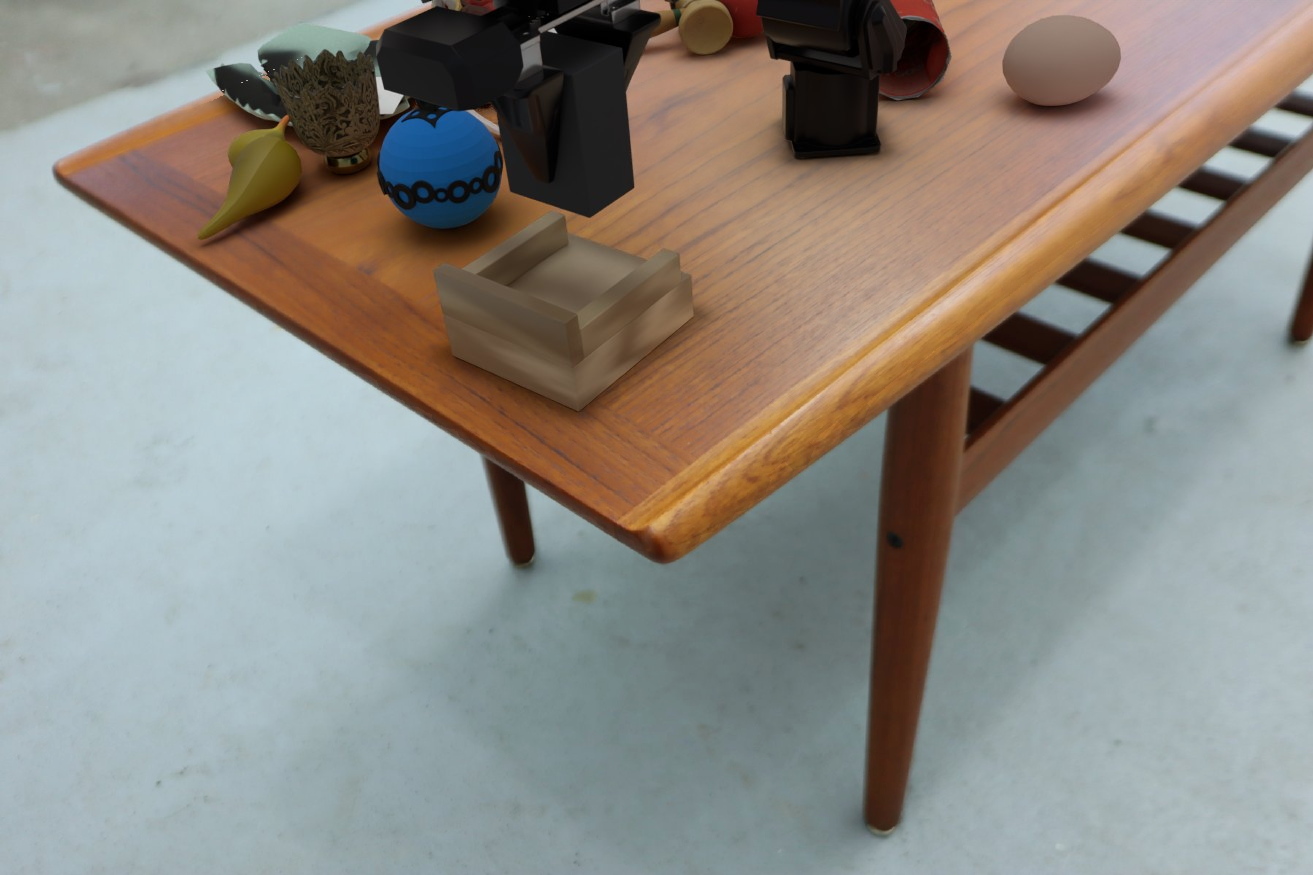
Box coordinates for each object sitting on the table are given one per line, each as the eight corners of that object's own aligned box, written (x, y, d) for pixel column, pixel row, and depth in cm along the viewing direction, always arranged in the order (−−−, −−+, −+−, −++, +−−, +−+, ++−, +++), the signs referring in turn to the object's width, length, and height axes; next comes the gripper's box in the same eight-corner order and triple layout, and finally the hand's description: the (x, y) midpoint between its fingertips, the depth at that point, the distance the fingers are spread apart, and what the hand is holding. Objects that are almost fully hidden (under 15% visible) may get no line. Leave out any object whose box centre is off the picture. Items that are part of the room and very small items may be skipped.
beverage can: (928, 43, 97) (936, -35, 93) (947, 99, 88) (956, 16, 84) (847, 46, 98) (850, -31, 93) (856, 103, 89) (861, 20, 84)
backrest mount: (570, 271, 72) (559, 188, 68) (694, 316, 67) (689, 230, 63) (452, 355, 66) (432, 270, 62) (578, 412, 61) (565, 322, 57)
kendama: (598, 91, 97) (792, 35, 97) (579, 18, 94) (780, -40, 94) (589, 74, 104) (771, 21, 104) (571, 5, 100) (758, -49, 101)
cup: (415, 152, 87) (393, 53, 82) (360, 195, 82) (332, 92, 77) (340, 140, 90) (314, 44, 85) (282, 180, 85) (251, 81, 80)
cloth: (422, 114, 88) (428, 141, 89) (440, 9, 104) (445, 34, 106) (168, 138, 88) (179, 165, 89) (226, 29, 104) (234, 53, 105)
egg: (1019, 116, 82) (1132, 109, 83) (1030, 22, 79) (1148, 16, 80) (982, 101, 88) (1089, 95, 89) (992, 13, 85) (1102, 8, 86)
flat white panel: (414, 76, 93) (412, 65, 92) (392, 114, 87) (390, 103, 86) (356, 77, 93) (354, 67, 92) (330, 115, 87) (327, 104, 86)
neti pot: (319, 81, 83) (257, 96, 86) (219, 208, 74) (154, 219, 77) (351, 129, 86) (290, 141, 89) (258, 256, 77) (194, 265, 80)
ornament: (535, 204, 79) (513, 69, 73) (467, 262, 74) (437, 122, 67) (439, 185, 83) (410, 54, 76) (367, 239, 77) (330, 104, 70)
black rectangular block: (555, 163, 64) (536, 28, 59) (635, 188, 61) (622, 47, 56) (509, 192, 62) (485, 53, 57) (589, 219, 59) (572, 75, 54)
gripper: (536, -199, 60) (570, 77, 70) (259, -112, 49) (346, 200, 59) (701, -185, 54) (712, 113, 64) (430, -83, 44) (494, 256, 54)
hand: (570, 164), depth 61 cm, fingers closed on black rectangular block, 4 cm apart
